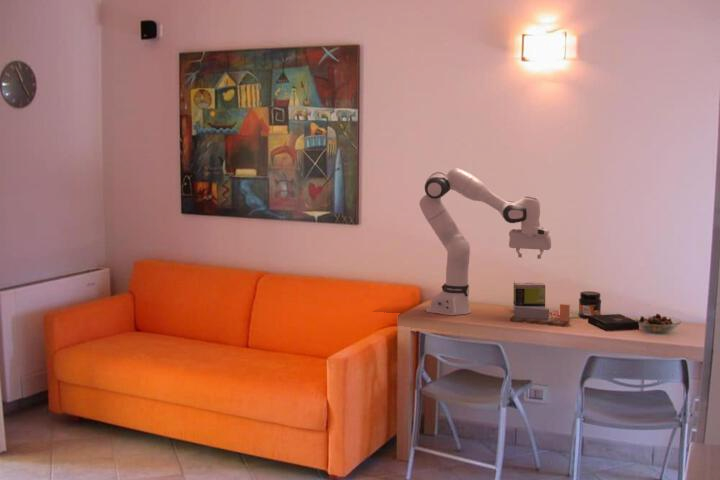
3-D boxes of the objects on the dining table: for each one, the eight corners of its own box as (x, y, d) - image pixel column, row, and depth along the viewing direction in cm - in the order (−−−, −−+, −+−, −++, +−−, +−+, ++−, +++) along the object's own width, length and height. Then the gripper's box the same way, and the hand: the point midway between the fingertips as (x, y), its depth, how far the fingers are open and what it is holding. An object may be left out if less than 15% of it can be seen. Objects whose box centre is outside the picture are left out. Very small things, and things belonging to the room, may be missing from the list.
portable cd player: (639, 330, 358) (639, 321, 357) (605, 331, 355) (605, 323, 354) (620, 322, 374) (620, 314, 373) (587, 323, 371) (588, 315, 370)
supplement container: (584, 319, 377) (585, 295, 375) (574, 315, 387) (575, 291, 386) (604, 318, 379) (605, 294, 378) (593, 314, 389) (594, 290, 388)
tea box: (542, 309, 400) (543, 281, 398) (545, 313, 390) (546, 284, 388) (512, 309, 401) (513, 280, 400) (514, 313, 391) (515, 284, 390)
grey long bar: (514, 316, 376) (514, 306, 376) (515, 315, 379) (516, 305, 378) (547, 320, 370) (548, 309, 369) (548, 318, 372) (549, 308, 371)
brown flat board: (510, 321, 374) (510, 318, 373) (515, 317, 383) (515, 313, 382) (565, 326, 363) (565, 323, 362) (569, 322, 372) (569, 318, 371)
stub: (559, 320, 367) (560, 304, 366) (560, 319, 370) (561, 303, 369) (568, 321, 366) (568, 305, 365) (569, 320, 368) (569, 304, 367)
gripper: (507, 229, 381) (507, 257, 383) (549, 231, 373) (548, 260, 374) (510, 228, 387) (510, 255, 388) (552, 230, 378) (551, 258, 380)
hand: (529, 257), depth 381 cm, fingers open, 8 cm apart
